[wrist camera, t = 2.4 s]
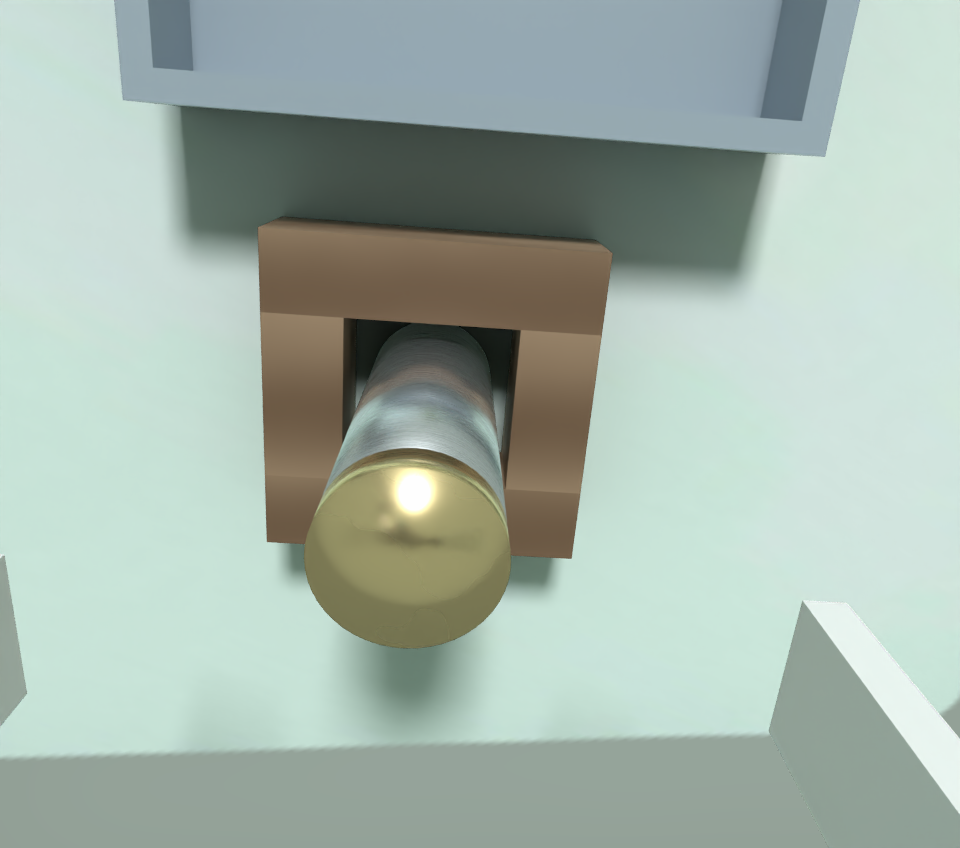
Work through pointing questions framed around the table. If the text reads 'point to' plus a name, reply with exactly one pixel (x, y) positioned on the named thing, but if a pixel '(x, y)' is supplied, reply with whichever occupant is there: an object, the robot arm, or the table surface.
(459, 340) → the pin
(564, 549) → the socket block
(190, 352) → the table surface
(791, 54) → the tray
